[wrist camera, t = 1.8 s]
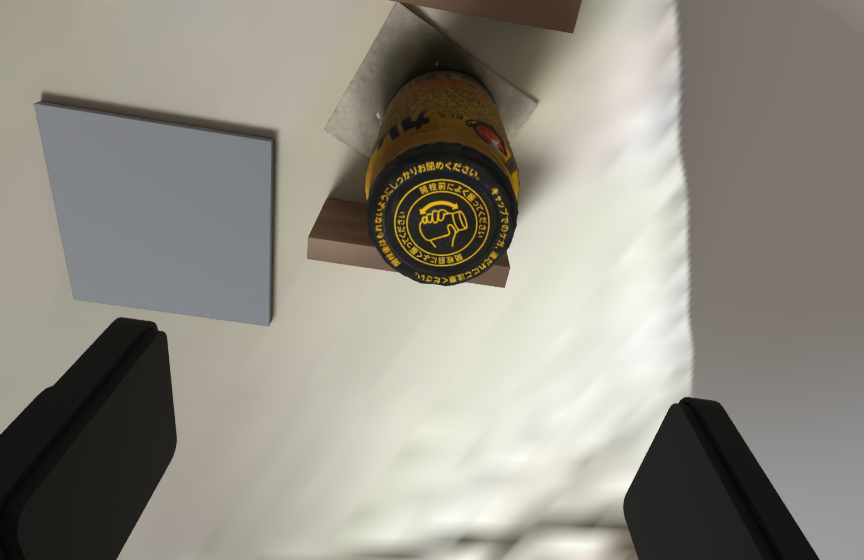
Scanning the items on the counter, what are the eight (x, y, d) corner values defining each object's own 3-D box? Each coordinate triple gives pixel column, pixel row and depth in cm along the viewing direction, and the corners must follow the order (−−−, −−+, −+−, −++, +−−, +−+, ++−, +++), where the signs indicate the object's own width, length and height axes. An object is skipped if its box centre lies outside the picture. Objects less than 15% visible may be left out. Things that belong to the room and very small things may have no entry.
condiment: (455, 212, 31) (463, 338, 21) (324, 128, 29) (259, 223, 19) (537, 103, 28) (593, 188, 18) (397, 0, 26) (368, 28, 15)
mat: (40, 101, 28) (33, 103, 28) (273, 139, 29) (271, 141, 29) (78, 295, 34) (73, 299, 34) (271, 322, 35) (268, 326, 35)
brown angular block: (343, -47, 25) (322, -48, 20) (558, -8, 25) (582, 0, 21) (325, 217, 31) (307, 258, 27) (496, 243, 32) (504, 287, 28)
